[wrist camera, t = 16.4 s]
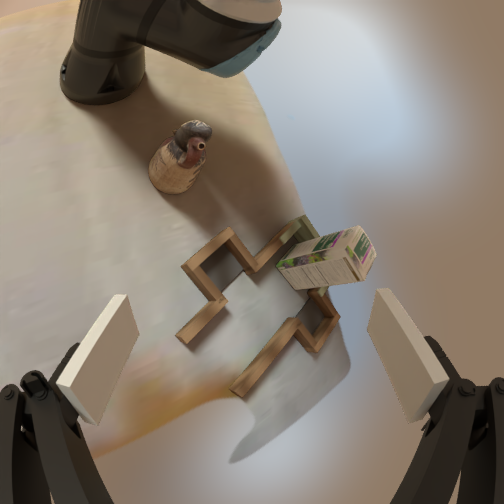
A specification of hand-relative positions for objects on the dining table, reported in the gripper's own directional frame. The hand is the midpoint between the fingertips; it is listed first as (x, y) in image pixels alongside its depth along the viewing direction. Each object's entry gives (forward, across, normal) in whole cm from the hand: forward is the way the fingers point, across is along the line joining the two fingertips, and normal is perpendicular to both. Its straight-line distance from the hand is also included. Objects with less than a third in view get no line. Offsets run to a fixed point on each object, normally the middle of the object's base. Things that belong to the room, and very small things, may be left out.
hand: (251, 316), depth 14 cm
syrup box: (+30, +6, -13) cm, 34 cm away
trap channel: (+24, +1, -16) cm, 29 cm away
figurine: (+28, -12, +4) cm, 31 cm away
